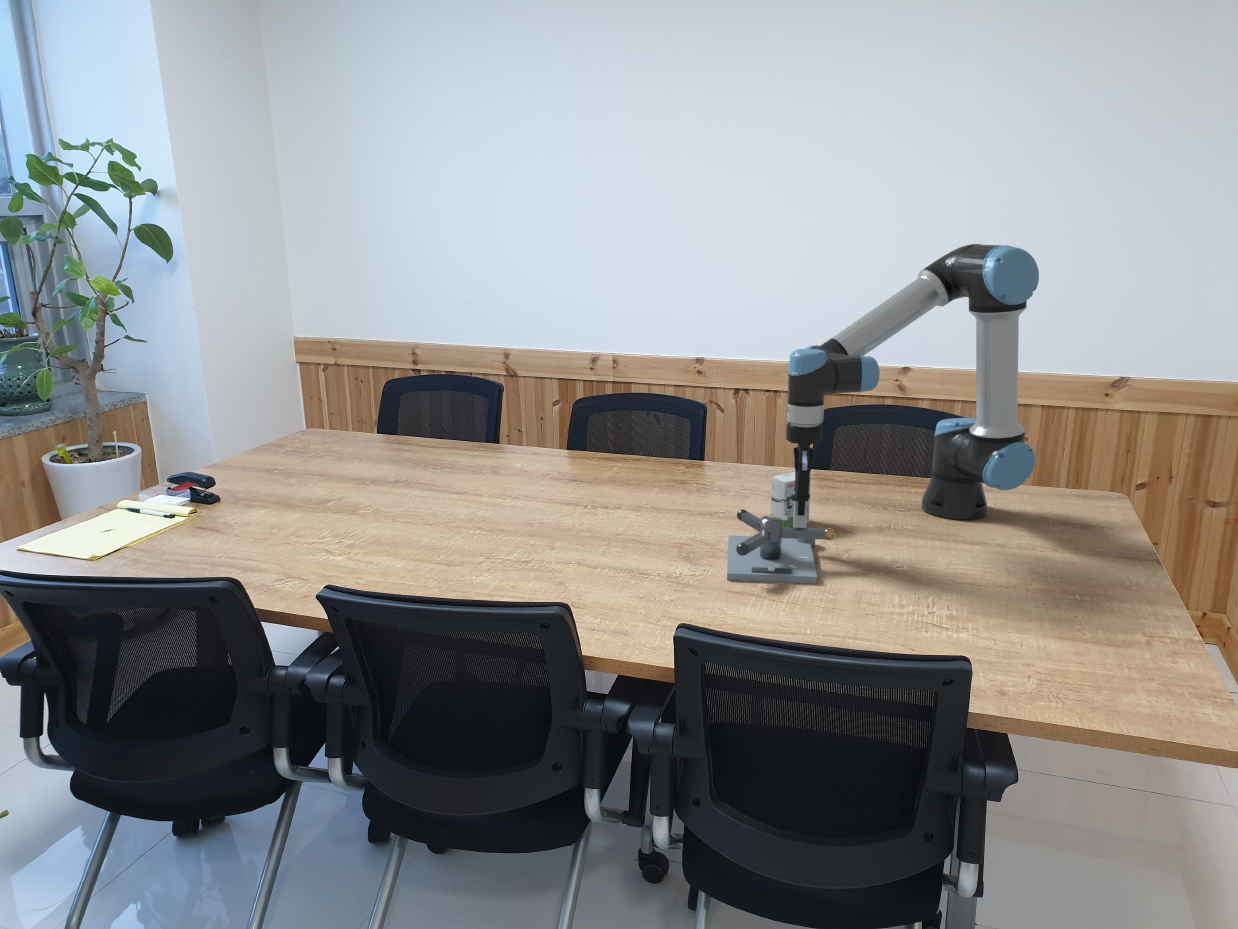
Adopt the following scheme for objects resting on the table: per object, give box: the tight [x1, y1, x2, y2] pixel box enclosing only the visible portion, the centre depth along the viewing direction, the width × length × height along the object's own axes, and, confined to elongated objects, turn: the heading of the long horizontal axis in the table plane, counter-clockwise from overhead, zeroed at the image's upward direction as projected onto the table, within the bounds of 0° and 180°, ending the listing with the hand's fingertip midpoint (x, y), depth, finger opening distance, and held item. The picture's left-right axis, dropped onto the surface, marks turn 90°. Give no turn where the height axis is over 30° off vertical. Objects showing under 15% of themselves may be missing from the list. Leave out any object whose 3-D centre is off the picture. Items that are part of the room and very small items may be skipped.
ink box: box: [770, 471, 812, 528], centre depth 216 cm, size 9×5×12 cm, turn 123°
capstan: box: [736, 508, 836, 560], centre depth 192 cm, size 21×23×9 cm
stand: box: [726, 534, 818, 585], centre depth 195 cm, size 19×23×3 cm
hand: (799, 527), depth 199 cm, fingers closed
